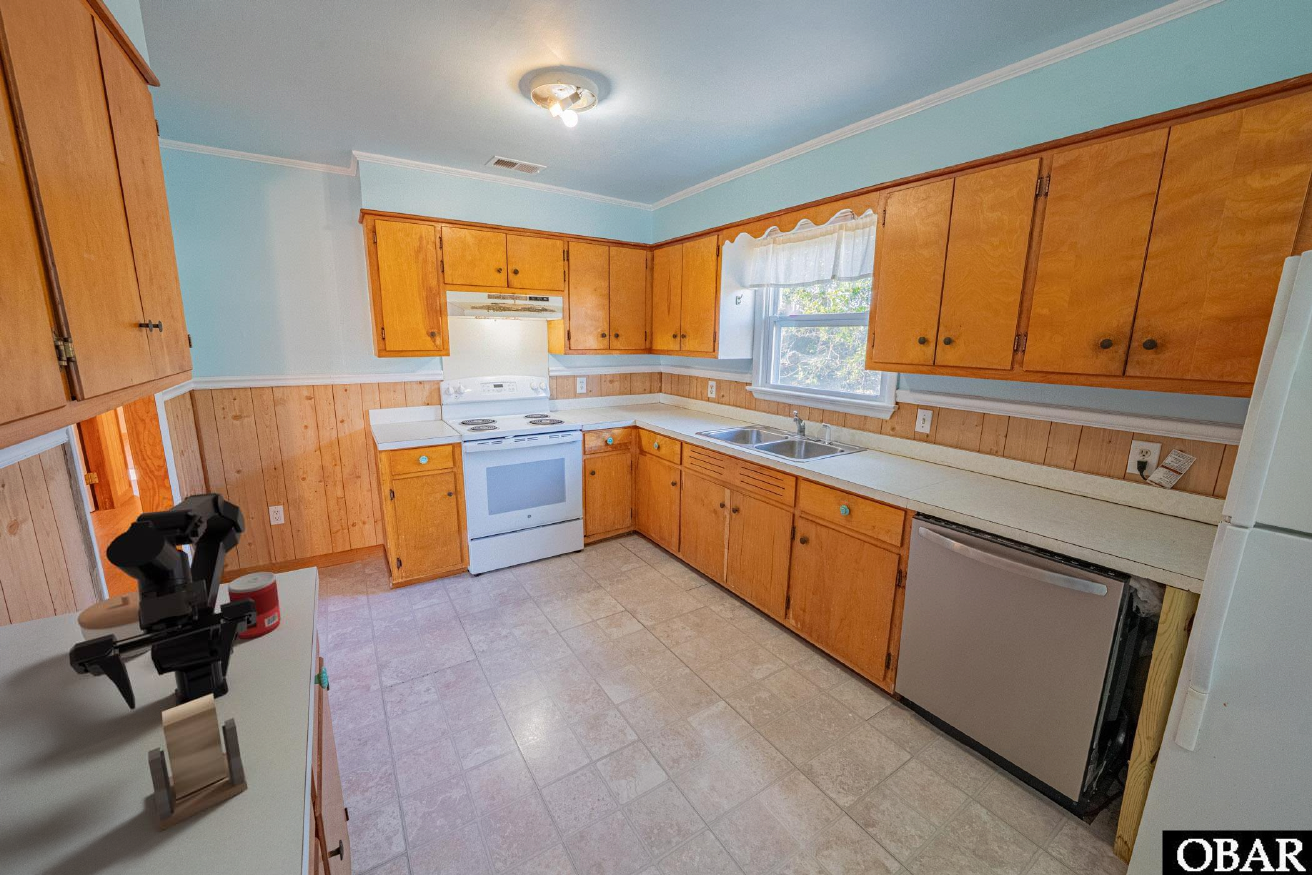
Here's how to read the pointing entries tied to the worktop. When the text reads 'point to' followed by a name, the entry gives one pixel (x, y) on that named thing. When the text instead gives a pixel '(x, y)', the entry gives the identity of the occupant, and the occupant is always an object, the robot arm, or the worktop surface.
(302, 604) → the worktop surface
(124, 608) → the lidded bowl
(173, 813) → the wooden phone stand
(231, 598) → the canned food
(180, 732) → the curved wooden panel
